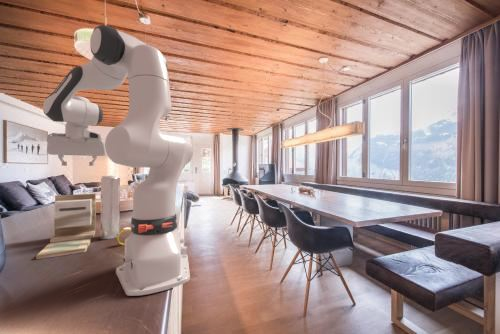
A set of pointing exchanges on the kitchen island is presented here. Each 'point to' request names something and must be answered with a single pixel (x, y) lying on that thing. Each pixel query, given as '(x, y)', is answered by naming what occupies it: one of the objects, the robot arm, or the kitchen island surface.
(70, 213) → the mounted unit
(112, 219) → the white tall cylinder
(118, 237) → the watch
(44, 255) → the dock pad
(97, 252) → the kitchen island surface
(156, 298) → the kitchen island surface
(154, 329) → the kitchen island surface
